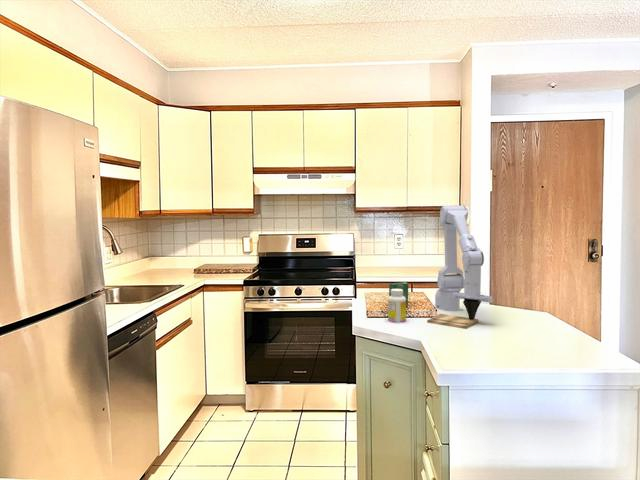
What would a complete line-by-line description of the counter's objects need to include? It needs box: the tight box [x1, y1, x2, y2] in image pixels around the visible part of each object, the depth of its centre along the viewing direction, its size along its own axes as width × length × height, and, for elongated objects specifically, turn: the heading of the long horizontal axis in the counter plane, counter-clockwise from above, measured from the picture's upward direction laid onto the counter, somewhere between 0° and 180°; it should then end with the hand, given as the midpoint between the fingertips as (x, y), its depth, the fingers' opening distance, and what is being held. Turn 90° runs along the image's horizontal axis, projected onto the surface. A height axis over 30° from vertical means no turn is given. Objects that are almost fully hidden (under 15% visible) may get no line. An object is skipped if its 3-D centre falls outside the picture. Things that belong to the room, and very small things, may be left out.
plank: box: [430, 313, 479, 328], centre depth 179 cm, size 15×8×1 cm, turn 51°
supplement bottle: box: [387, 289, 407, 324], centre depth 182 cm, size 7×7×13 cm
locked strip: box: [426, 318, 470, 330], centre depth 175 cm, size 15×2×1 cm, turn 51°
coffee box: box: [388, 282, 409, 309], centre depth 195 cm, size 8×3×13 cm, turn 117°
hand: (471, 319), depth 178 cm, fingers closed, pressing on plank
